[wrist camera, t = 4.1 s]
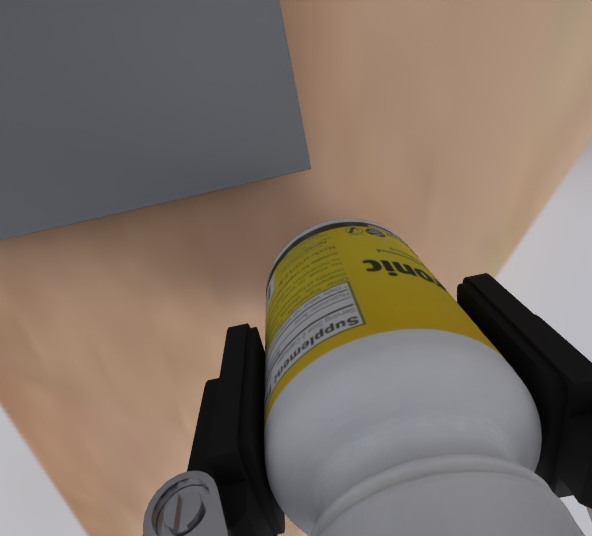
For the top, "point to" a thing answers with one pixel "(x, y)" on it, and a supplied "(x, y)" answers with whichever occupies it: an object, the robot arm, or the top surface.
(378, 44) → the top surface
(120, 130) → the collar stand
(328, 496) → the supplement bottle
